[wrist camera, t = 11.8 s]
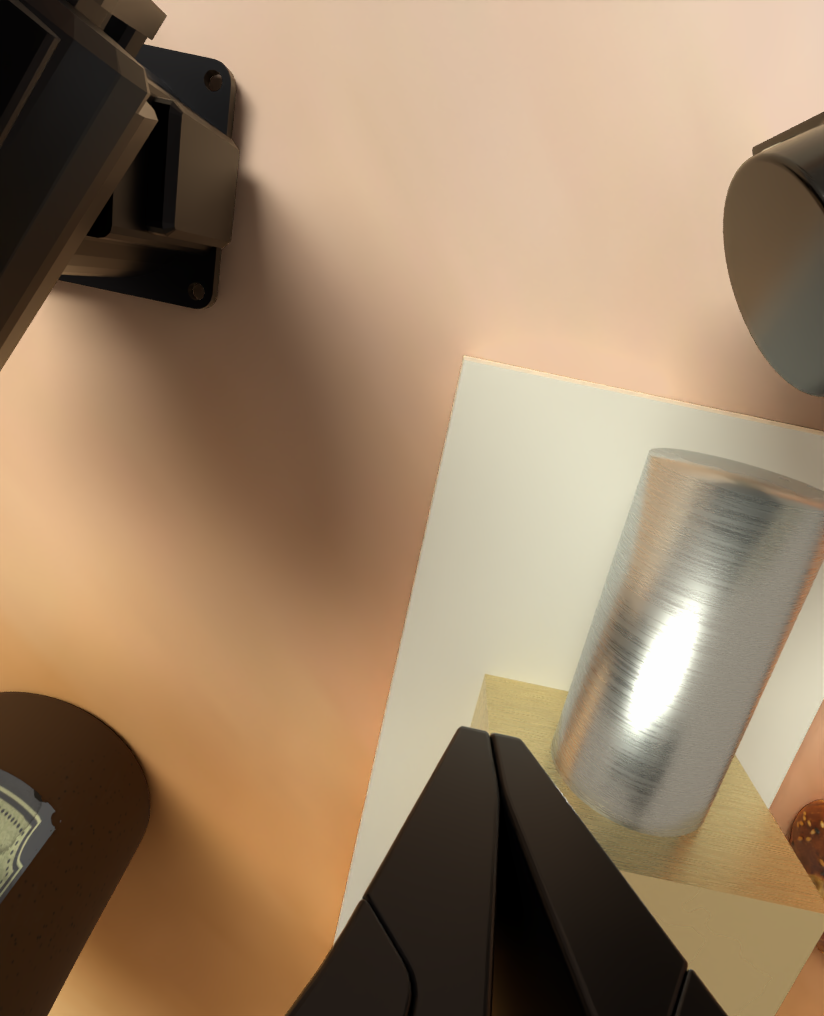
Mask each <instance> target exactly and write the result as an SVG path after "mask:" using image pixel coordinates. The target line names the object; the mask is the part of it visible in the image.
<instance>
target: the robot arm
mask: <svg viewBox="0 0 824 1016" xmlns="http://www.w3.org/2000/svg"><path fill="white" fill-rule="evenodd" d="M166 16H167V15H166V14H165V13H164V12H163V11H162V10H161V9H160V8H159V7H158V6H157V5H156V4H155V3H154V2H152V1H151V0H0V371H1V369H2V368H3V366H4V365H5V363H6V361H7V360H8V358H9V357H10V355H11V353H12V352H13V350H14V349H15V347H16V346H17V344H18V342H19V341H20V339H21V338H22V336H23V334H24V333H25V331H26V330H27V328H28V327H29V325H30V323H31V322H32V320H33V319H34V317H35V315H36V314H37V312H38V311H39V309H40V307H41V306H42V304H43V303H44V301H45V300H46V298H47V296H48V295H49V293H50V292H51V290H52V288H53V287H54V285H55V284H56V282H57V281H58V280H62V281H67V282H71V283H76V284H81V285H85V286H90V287H95V288H100V289H104V290H109V291H114V292H119V293H123V294H128V295H133V296H137V297H142V298H147V299H152V300H156V301H161V302H166V303H170V304H175V305H180V306H185V307H189V308H194V309H205V308H208V307H210V306H212V305H213V304H214V302H215V301H216V298H217V293H218V282H219V271H220V260H221V249H222V248H224V247H225V246H226V245H227V244H228V243H230V242H231V236H232V225H233V215H234V204H235V194H236V183H237V173H238V162H239V149H238V148H237V146H236V145H235V143H234V142H233V140H232V128H233V117H234V106H235V95H236V82H235V79H234V76H233V74H232V73H231V71H230V70H229V69H228V68H227V67H226V66H225V65H224V64H223V63H222V62H220V61H218V60H215V59H211V58H206V57H202V56H197V55H192V54H188V53H183V52H178V51H173V50H169V49H164V48H159V47H154V46H150V45H145V44H144V42H145V40H146V39H147V37H148V38H150V39H151V40H152V39H153V38H154V36H155V35H156V33H157V31H158V30H159V28H160V26H161V25H162V23H163V21H164V20H165V18H166ZM214 75H221V77H222V86H221V88H220V89H219V90H218V91H213V92H212V91H211V90H210V86H209V82H210V79H211V78H212V77H213V76H214ZM197 283H199V284H201V285H202V287H203V288H204V292H205V294H204V296H203V298H202V299H201V300H199V299H197V298H196V297H195V296H194V293H193V288H194V286H195V285H196V284H197ZM687 968H688V962H687V961H686V959H685V958H684V957H683V955H682V954H681V953H680V951H679V950H678V949H677V947H676V946H675V945H674V943H673V942H672V941H671V939H670V938H669V937H668V935H667V934H666V933H665V931H664V930H663V929H662V927H661V926H660V925H659V923H658V922H657V920H656V919H655V918H654V916H653V915H652V914H651V912H650V911H649V910H648V908H647V907H646V906H645V904H644V903H643V902H642V900H641V899H640V898H639V896H638V895H637V894H636V892H635V891H634V890H633V888H632V887H631V886H630V884H629V883H628V882H627V880H626V879H625V878H624V876H623V875H622V874H621V872H620V871H619V870H618V868H617V867H616V865H615V864H614V863H613V861H612V860H611V859H610V857H609V856H608V855H607V853H606V852H605V851H604V849H603V848H602V847H601V845H600V844H599V843H598V841H597V840H596V839H595V837H594V836H593V835H592V833H591V832H590V831H589V829H588V828H587V827H586V825H585V824H584V823H583V821H582V820H581V819H580V817H579V816H578V815H577V813H576V812H575V811H574V809H573V808H572V806H571V805H570V804H569V802H568V801H567V800H566V798H565V797H564V796H563V794H562V793H561V792H560V790H559V789H558V788H557V786H556V785H555V784H554V782H553V781H552V780H551V778H550V777H549V776H548V774H547V773H546V772H545V770H544V769H543V768H542V766H541V765H540V764H539V762H538V761H537V760H536V758H535V757H534V756H533V754H532V753H531V752H530V750H529V749H528V747H527V746H526V745H525V743H524V742H523V741H522V740H521V739H520V738H517V737H513V736H508V735H504V734H499V733H492V734H491V735H490V736H489V733H488V732H486V731H484V730H480V729H475V728H471V727H466V726H460V727H459V728H458V729H457V731H456V732H455V734H454V736H453V738H452V739H451V741H450V743H449V745H448V746H447V748H446V750H445V752H444V753H443V755H442V757H441V759H440V761H439V762H438V764H437V766H436V768H435V769H434V771H433V773H432V775H431V776H430V778H429V780H428V782H427V783H426V785H425V787H424V789H423V791H422V792H421V794H420V796H419V798H418V799H417V801H416V803H415V805H414V806H413V808H412V810H411V812H410V813H409V815H408V817H407V819H406V821H405V822H404V824H403V826H402V828H401V829H400V831H399V833H398V835H397V836H396V838H395V840H394V842H393V844H392V845H391V847H390V849H389V851H388V852H387V854H386V856H385V858H384V859H383V861H382V863H381V865H380V866H379V868H378V870H377V872H376V874H375V875H374V877H373V879H372V881H371V882H370V884H369V886H368V888H367V889H366V891H365V893H364V895H363V897H362V900H360V901H359V903H358V904H357V906H356V908H355V910H354V911H353V913H352V915H351V917H350V918H349V920H348V922H347V924H346V925H345V927H344V929H343V930H342V932H341V934H340V935H339V937H338V938H337V940H336V942H335V943H334V945H333V947H332V948H331V950H330V951H329V953H328V955H327V956H326V958H325V959H324V961H323V963H322V964H321V966H320V967H319V969H318V970H317V972H316V973H315V974H314V976H313V977H312V979H311V980H310V981H309V983H308V984H307V986H306V987H305V988H304V990H303V991H302V993H301V994H300V995H299V997H298V998H297V1000H296V1001H295V1002H294V1004H293V1005H292V1007H291V1008H290V1009H289V1011H288V1012H287V1013H286V1015H285V1016H728V1015H727V1014H726V1012H725V1011H724V1010H723V1008H722V1007H721V1006H720V1005H719V1003H718V1002H717V1001H716V999H715V998H714V996H713V995H712V994H711V992H710V991H709V990H708V988H707V987H706V986H705V984H704V983H703V982H702V980H701V979H700V978H699V976H698V975H697V974H696V972H695V971H694V970H692V969H688V970H687Z"/></svg>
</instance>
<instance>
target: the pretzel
mask: <svg viewBox="0 0 824 1016" xmlns="http://www.w3.org/2000/svg"><path fill="white" fill-rule="evenodd" d="M789 844H790V846H791V847H792V849H793V851H794V852H795V854H796V856H797V857H798V859H799V861H800V862H801V864H802V866H803V867H804V869H805V870H806V872H807V874H808V875H809V877H810V879H811V880H812V882H813V884H814V885H815V887H816V889H817V890H818V892H819V894H820V895H821V897H822V899H823V900H824V800H817V801H814V802H812V803H810V804H808V805H807V806H805V807H804V808H803V809H802V810H801V811H800V812H799V813H798V815H797V817H796V819H795V821H794V823H793V828H792V834H791V839H790V841H789ZM816 946H817V947H818V949H819V950H820V951H821V952H822V953H823V954H824V932H823V934H822V935H821V937H820V939H819V940H818V942H817V944H816Z"/></svg>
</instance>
